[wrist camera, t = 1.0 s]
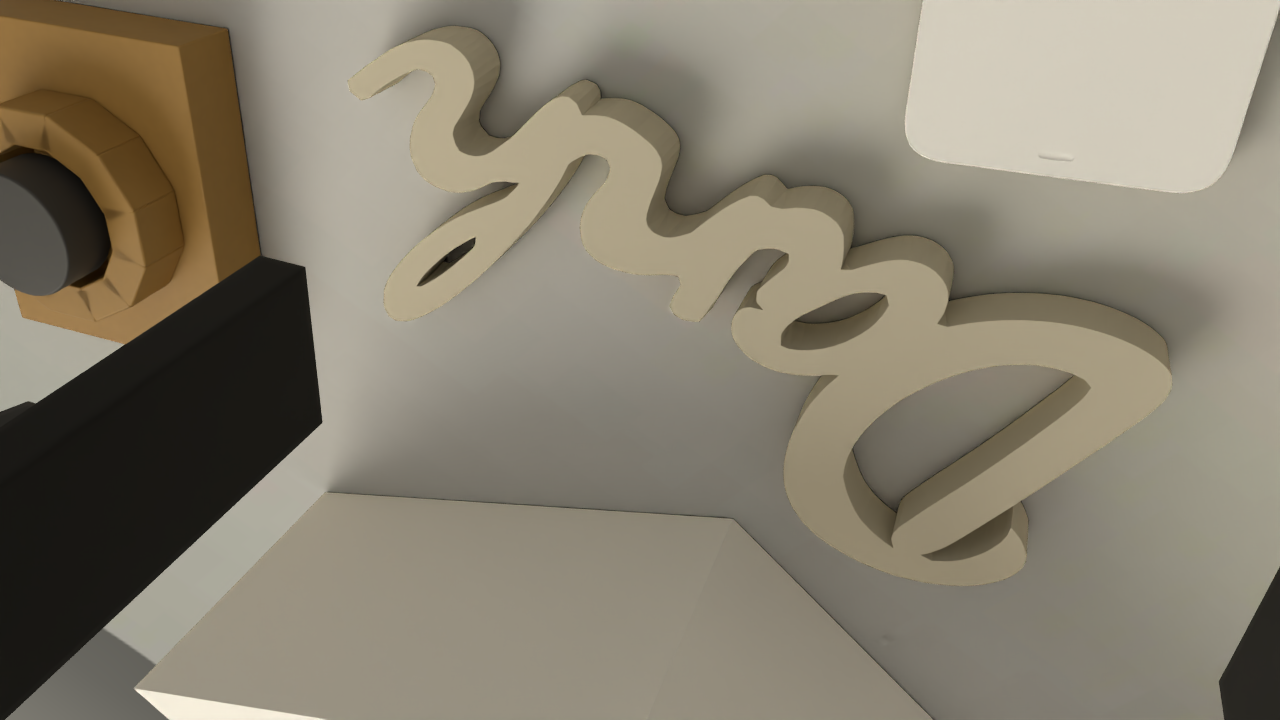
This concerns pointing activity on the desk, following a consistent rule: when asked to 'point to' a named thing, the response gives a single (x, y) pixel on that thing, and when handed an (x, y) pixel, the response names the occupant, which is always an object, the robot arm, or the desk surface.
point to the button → (47, 226)
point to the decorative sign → (786, 309)
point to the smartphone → (1088, 87)
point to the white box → (517, 624)
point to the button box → (132, 154)
